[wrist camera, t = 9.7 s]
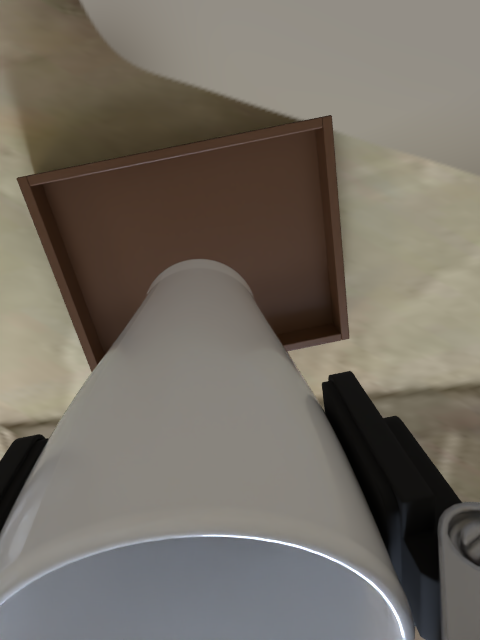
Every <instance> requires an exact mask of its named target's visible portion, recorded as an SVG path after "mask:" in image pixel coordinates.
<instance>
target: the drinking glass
mask: <svg viewBox="0 0 480 640" xmlns="http://www.w3.org/2000/svg"><path fill="white" fill-rule="evenodd" d="M0 640H415V627H414V621H413V615H412V610H411V608H410V605H409V602H408V599H407V596H406V594H405V592H404V590H403V587H402V585H401V583H400V580H399V578H398V576H397V573H396V571H395V568H394V566H393V563H392V561H391V558H390V555H389V553H388V550H387V548H386V545H385V543H384V540H383V538H382V535H381V533H380V530H379V528H378V525H377V523H376V520H375V518H374V516H373V513H372V511H371V508H370V506H369V504H368V501H367V499H366V497H365V494H364V492H363V490H362V488H361V485H360V483H359V481H358V478H357V476H356V474H355V472H354V470H353V468H352V465H351V463H350V461H349V459H348V457H347V455H346V453H345V451H344V449H343V447H342V445H341V443H340V441H339V439H338V437H337V435H336V433H335V431H334V429H333V427H332V425H331V423H330V421H329V420H328V418H327V416H326V414H325V412H324V410H323V409H322V407H321V405H320V403H319V402H318V400H317V398H316V396H315V395H314V393H313V392H312V390H311V388H310V387H309V385H308V383H307V382H306V380H305V379H304V377H303V376H302V374H301V372H300V371H299V369H298V368H297V366H296V365H295V363H294V362H293V360H292V358H291V357H290V355H289V354H288V352H287V351H286V349H285V348H284V346H283V344H282V343H281V341H280V340H279V338H278V337H277V335H276V333H275V332H274V330H273V329H272V327H271V326H270V324H269V322H268V321H267V319H266V318H265V316H264V314H263V313H262V311H261V309H260V308H259V306H258V305H257V303H256V301H255V298H254V295H253V293H252V291H251V289H250V287H249V285H248V284H247V282H246V281H245V280H244V279H243V277H242V276H241V275H240V274H238V273H237V272H236V271H235V270H233V269H232V268H230V267H229V266H227V265H225V264H223V263H220V262H217V261H214V260H208V259H190V260H185V261H182V262H179V263H176V264H174V265H172V266H170V267H169V268H167V269H166V270H164V271H163V272H162V273H160V274H159V275H158V276H157V277H156V279H155V280H154V281H153V282H152V284H151V285H150V287H149V289H148V291H147V293H146V295H145V298H144V300H143V301H142V303H141V304H140V306H139V307H138V309H137V310H136V312H135V313H134V314H133V316H132V317H131V319H130V320H129V321H128V323H127V324H126V326H125V327H124V329H123V330H122V331H121V333H120V334H119V336H118V337H117V338H116V340H115V341H114V342H113V344H112V345H111V347H110V348H109V349H108V351H107V352H106V354H105V355H104V356H103V358H102V359H101V360H100V362H99V363H98V365H97V366H96V367H95V369H94V370H93V372H92V373H91V374H90V376H89V377H88V379H87V380H86V381H85V383H84V384H83V386H82V387H81V389H80V390H79V391H78V393H77V394H76V396H75V397H74V399H73V401H72V402H71V404H70V405H69V407H68V408H67V410H66V411H65V413H64V415H63V416H62V418H61V419H60V421H59V423H58V424H57V426H56V428H55V429H54V431H53V432H52V434H51V436H50V437H49V439H48V441H47V443H46V444H45V446H44V448H43V450H42V452H41V453H40V455H39V457H38V459H37V460H36V462H35V464H34V466H33V468H32V470H31V472H30V474H29V476H28V477H27V479H26V481H25V483H24V485H23V487H22V489H21V491H20V493H19V495H18V497H17V499H16V501H15V503H14V505H13V507H12V509H11V511H10V513H9V515H8V517H7V519H6V521H5V523H4V525H3V527H2V530H1V532H0Z"/></svg>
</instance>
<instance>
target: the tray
mask: <svg viewBox="0 0 480 640" xmlns="http://www.w3.org/2000/svg"><path fill="white" fill-rule="evenodd" d="M17 181H18V183H19V186H20V189H21V191H22V194H23V196H24V199H25V201H26V204H27V207H28V209H29V212H30V214H31V217H32V219H33V222H34V225H35V227H36V230H37V232H38V235H39V237H40V240H41V243H42V245H43V248H44V250H45V253H46V255H47V258H48V261H49V263H50V266H51V268H52V271H53V273H54V276H55V279H56V281H57V284H58V286H59V289H60V292H61V294H62V297H63V299H64V302H65V304H66V307H67V310H68V312H69V315H70V317H71V320H72V322H73V325H74V328H75V330H76V333H77V335H78V338H79V340H80V343H81V346H82V348H83V351H84V353H85V356H86V358H87V361H88V364H89V366H90V369H91V371H92V372H93V370H94V369H95V367H96V366H97V365H98V363H99V362H100V360H101V359H102V358H103V356H104V355H105V354H106V352H107V351H108V349H109V348H110V347H111V345H112V344H113V342H114V341H115V340H116V338H117V337H118V336H119V334H120V333H121V331H122V330H123V329H124V327H125V326H126V324H127V323H128V321H129V320H130V319H131V317H132V316H133V314H134V313H135V312H136V310H137V309H138V307H139V306H140V304H141V303H142V301H143V300H144V298H145V295H146V293H147V291H148V289H149V287H150V285H151V284H152V282H153V281H154V280H155V279H156V277H157V276H158V275H159V274H160V273H162V272H163V271H164V270H166V269H167V268H169V267H170V266H172V265H174V264H176V263H179V262H182V261H185V260H190V259H208V260H214V261H217V262H220V263H223V264H225V265H227V266H229V267H230V268H232V269H233V270H235V271H236V272H237V273H238V274H240V275H241V276H242V277H243V279H244V280H245V281H246V282H247V284H248V285H249V287H250V289H251V291H252V293H253V295H254V298H255V301H256V303H257V305H258V306H259V308H260V309H261V311H262V313H263V314H264V316H265V318H266V319H267V321H268V322H269V324H270V326H271V327H272V329H273V330H274V332H275V333H276V335H277V337H278V338H279V340H280V341H281V343H282V344H283V346H284V348H285V349H286V351H291V350H296V349H301V348H306V347H311V346H316V345H321V344H325V343H330V342H335V341H340V340H341V339H342V340H345V339H349V327H348V314H347V302H346V289H345V277H344V264H343V251H342V239H341V226H340V213H339V201H338V188H337V175H336V163H335V150H334V138H333V125H332V116H331V115H329V116H324V117H319V118H314V119H309V120H304V121H299V122H294V123H289V124H284V125H279V126H274V127H269V128H264V129H259V130H254V131H249V132H244V133H239V134H234V135H229V136H224V137H219V138H214V139H209V140H204V141H199V142H194V143H189V144H184V145H179V146H174V147H169V148H164V149H159V150H154V151H149V152H144V153H139V154H134V155H129V156H124V157H119V158H114V159H109V160H104V161H99V162H94V163H89V164H84V165H79V166H74V167H69V168H64V169H59V170H54V171H49V172H44V173H39V174H34V175H29V176H23V177H18V178H17Z"/></svg>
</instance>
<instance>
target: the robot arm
mask: <svg viewBox="0 0 480 640" xmlns="http://www.w3.org/2000/svg"><path fill="white" fill-rule="evenodd" d="M328 380H329V381H327V382H323V383H322V390H323V399H324V407H325V414H326V416H327V418H328V420H329V421H330V423H331V425H332V427H333V429H334V431H335V433H336V435H337V437H338V439H339V441H340V443H341V445H342V447H343V449H344V451H345V453H346V455H347V457H348V459H349V461H350V463H351V465H352V468H353V470H354V472H355V474H356V476H357V478H358V481H359V483H360V485H361V488H362V490H363V492H364V494H365V497H366V499H367V501H368V504H369V506H370V508H371V511H372V513H373V516H374V518H375V520H376V523H377V525H378V528H379V530H380V533H381V535H382V538H383V540H384V543H385V545H386V548H387V550H388V553H389V555H390V558H391V561H392V563H393V566H394V568H395V571H396V573H397V576H398V578H399V580H400V583H401V585H402V587H403V590H404V592H405V594H406V596H407V599H408V602H409V605H410V608H411V610H412V615H413V621H414V626H416V627H417V629H418V632H419V634H420V636H421V637H422V638H424V639H426V640H480V503H477V502H464V503H462V502H461V501H460V499H459V498H458V497H457V495H456V494H455V492H454V491H453V490H452V488H451V487H450V486H449V484H448V483H447V482H446V480H445V479H444V477H443V476H442V475H441V473H440V472H439V471H438V469H437V468H436V467H435V465H434V464H433V463H432V461H431V460H430V458H429V457H428V456H427V454H426V453H425V452H424V450H423V449H422V448H421V446H420V445H419V443H418V442H417V441H416V439H415V438H414V437H413V435H412V434H411V433H410V431H409V430H408V428H407V427H406V426H405V424H404V423H403V422H402V421H401V419H400V418H399V417H397V416H392V417H387V418H382V416H381V415H380V413H379V412H378V410H377V409H376V407H375V406H374V404H373V403H372V401H371V400H370V398H369V397H368V395H367V394H366V392H365V391H364V389H363V388H362V386H361V385H360V383H359V382H358V380H357V379H356V377H355V376H354V374H353V373H352V372H351V371H348V372H343V373H338V374H333V375H329V378H328ZM47 441H48V438H47V439H45V437H44V436H42V435H40V434H38V435H33V436H28V437H23V438H18V439H16V440H15V441H14V442H13V443H12V444H11V446H10V447H9V449H8V450H7V452H6V453H5V455H4V456H3V458H2V459H1V461H0V532H1V530H2V527H3V525H4V523H5V521H6V519H7V517H8V515H9V513H10V511H11V509H12V507H13V505H14V503H15V501H16V499H17V497H18V495H19V493H20V491H21V489H22V487H23V485H24V483H25V481H26V479H27V477H28V476H29V474H30V472H31V470H32V468H33V466H34V464H35V462H36V460H37V459H38V457H39V455H40V453H41V452H42V450H43V448H44V446H45V444H46V443H47Z"/></svg>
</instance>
